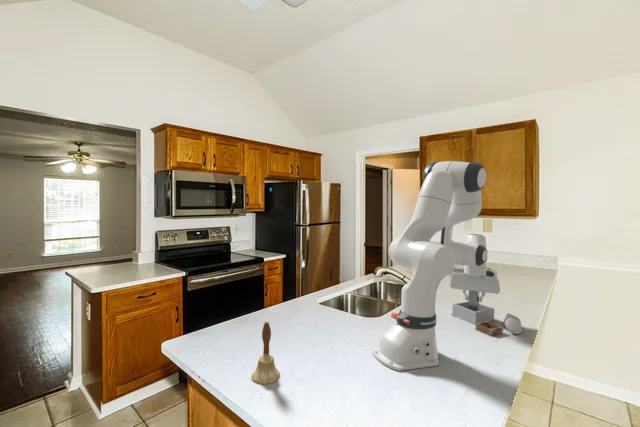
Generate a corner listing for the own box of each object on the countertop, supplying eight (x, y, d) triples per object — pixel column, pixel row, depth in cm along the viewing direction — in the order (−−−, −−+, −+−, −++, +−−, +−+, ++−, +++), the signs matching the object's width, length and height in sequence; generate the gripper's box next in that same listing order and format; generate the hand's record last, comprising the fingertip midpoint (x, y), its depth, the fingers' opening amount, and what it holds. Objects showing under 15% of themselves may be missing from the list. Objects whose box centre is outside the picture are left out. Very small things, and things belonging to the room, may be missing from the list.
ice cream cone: (507, 321, 137) (516, 341, 123) (496, 312, 138) (503, 330, 124) (519, 312, 135) (529, 331, 121) (507, 303, 136) (515, 321, 122)
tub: (475, 324, 133) (475, 312, 133) (452, 315, 144) (452, 303, 144) (493, 320, 138) (494, 308, 138) (470, 311, 149) (470, 300, 149)
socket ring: (491, 336, 122) (491, 329, 122) (475, 329, 128) (475, 323, 128) (502, 333, 125) (502, 327, 125) (486, 326, 131) (487, 320, 131)
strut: (477, 314, 138) (478, 284, 139) (467, 312, 141) (467, 283, 142) (479, 312, 142) (480, 283, 142) (469, 310, 144) (470, 282, 145)
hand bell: (285, 375, 92) (286, 322, 91) (263, 388, 86) (263, 330, 85) (268, 365, 97) (268, 315, 97) (245, 376, 91) (245, 322, 91)
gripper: (449, 268, 142) (448, 299, 142) (501, 273, 133) (499, 305, 134) (449, 266, 147) (448, 295, 148) (499, 271, 139) (498, 301, 140)
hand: (473, 300), depth 141 cm, fingers closed on strut, 4 cm apart
